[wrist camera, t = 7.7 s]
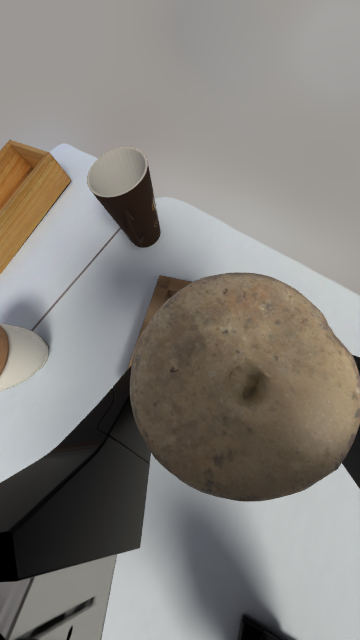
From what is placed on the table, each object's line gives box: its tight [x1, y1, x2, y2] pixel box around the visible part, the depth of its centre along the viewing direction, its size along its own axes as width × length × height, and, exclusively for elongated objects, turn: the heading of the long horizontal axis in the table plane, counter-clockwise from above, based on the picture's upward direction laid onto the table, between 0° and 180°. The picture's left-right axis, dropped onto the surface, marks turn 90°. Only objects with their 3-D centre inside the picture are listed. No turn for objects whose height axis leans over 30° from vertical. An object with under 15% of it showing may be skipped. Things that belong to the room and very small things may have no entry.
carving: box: [130, 273, 360, 501], centre depth 9 cm, size 6×8×12 cm
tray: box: [0, 140, 71, 274], centre depth 31 cm, size 31×15×6 cm, turn 149°
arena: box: [127, 275, 192, 370], centre depth 19 cm, size 19×18×4 cm
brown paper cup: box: [87, 147, 160, 247], centre depth 22 cm, size 12×9×10 cm
